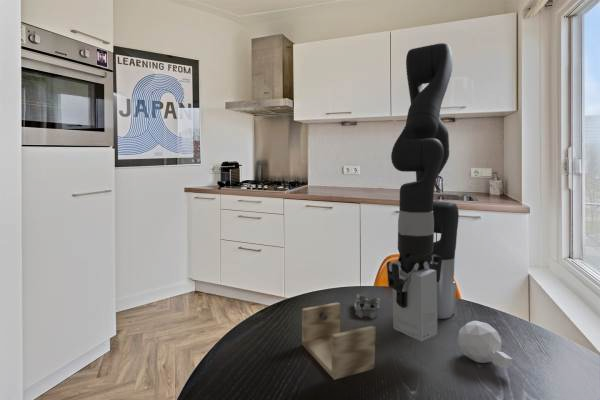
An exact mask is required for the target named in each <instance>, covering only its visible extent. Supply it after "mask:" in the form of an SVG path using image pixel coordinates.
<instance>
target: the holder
mask: <svg viewBox="0 0 600 400" xmlns="http://www.w3.org/2000/svg"><path fill="white" fill-rule="evenodd" d="M301 345H302V347H304V348H305V350H306V351H307V352H308V353H309V354H310V355H311V356H312V357H313V358H314V360H315V361H316V362H318V364H319V365H320V366H321V367H322V368H323V370H325V371H326V373H327V374H328V375H329V376H330V377H331V378H332V379H333V380H334V381H335V380H338V379H342V378H346V377H349V376H354V375H356V374H360V373H363V372H367V371H371V370H373V369H375V364H376V363H375V360H376V359H375V356H376V327H375V326H373V325H370V326H365V327H359V328H355V329H351V330H347V331H343V332H342V331H341V303H339V302H332V303H327V304H321V305H315V306H310V307H304V308H301Z"/></svg>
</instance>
